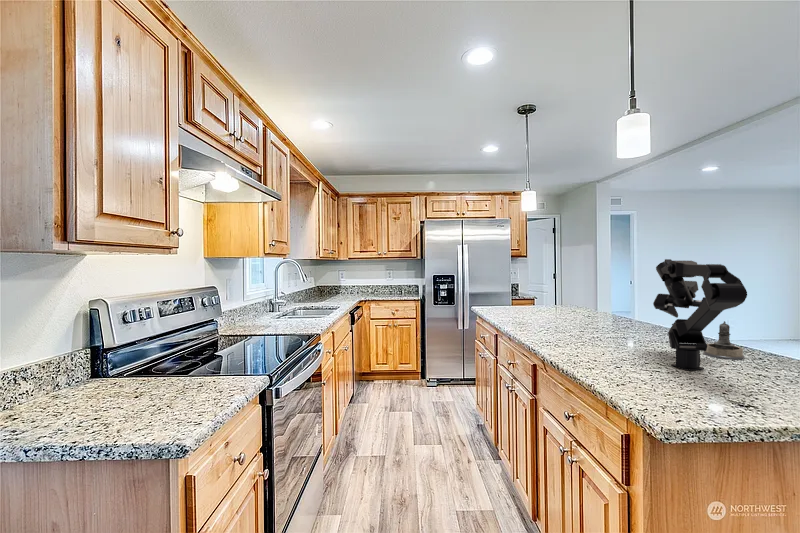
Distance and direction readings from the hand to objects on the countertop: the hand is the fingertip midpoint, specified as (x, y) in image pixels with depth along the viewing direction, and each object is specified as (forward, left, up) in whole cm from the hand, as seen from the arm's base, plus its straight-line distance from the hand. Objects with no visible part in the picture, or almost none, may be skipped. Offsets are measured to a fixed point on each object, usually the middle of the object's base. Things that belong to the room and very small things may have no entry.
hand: (691, 318), depth 144 cm
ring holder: (+11, -3, -14) cm, 18 cm away
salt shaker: (+11, -3, -13) cm, 18 cm away
